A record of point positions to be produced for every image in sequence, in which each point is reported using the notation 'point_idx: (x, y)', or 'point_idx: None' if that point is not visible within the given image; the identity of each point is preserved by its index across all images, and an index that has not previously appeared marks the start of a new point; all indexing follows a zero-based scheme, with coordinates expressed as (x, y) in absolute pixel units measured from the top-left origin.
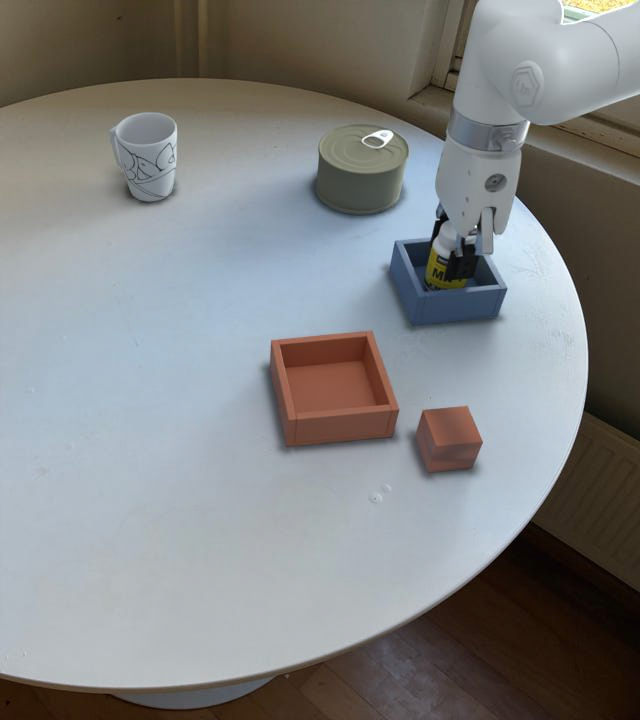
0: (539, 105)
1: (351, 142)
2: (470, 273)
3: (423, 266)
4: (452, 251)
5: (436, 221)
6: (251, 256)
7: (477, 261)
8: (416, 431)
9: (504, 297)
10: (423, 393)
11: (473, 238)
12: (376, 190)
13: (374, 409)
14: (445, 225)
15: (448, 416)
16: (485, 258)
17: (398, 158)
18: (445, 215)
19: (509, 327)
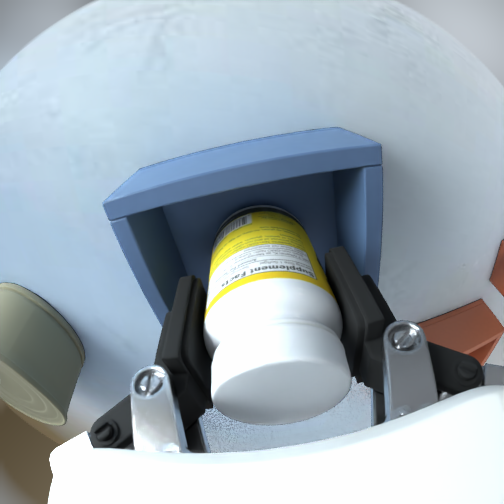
0: None
1: (4, 388)
2: (371, 278)
3: (186, 270)
4: (359, 380)
5: (205, 408)
6: (204, 419)
7: (364, 284)
8: (495, 286)
9: (364, 137)
10: (457, 272)
11: (340, 365)
12: (51, 359)
13: (493, 347)
14: (256, 420)
15: None
16: (232, 187)
17: None
18: (196, 417)
19: (367, 109)
